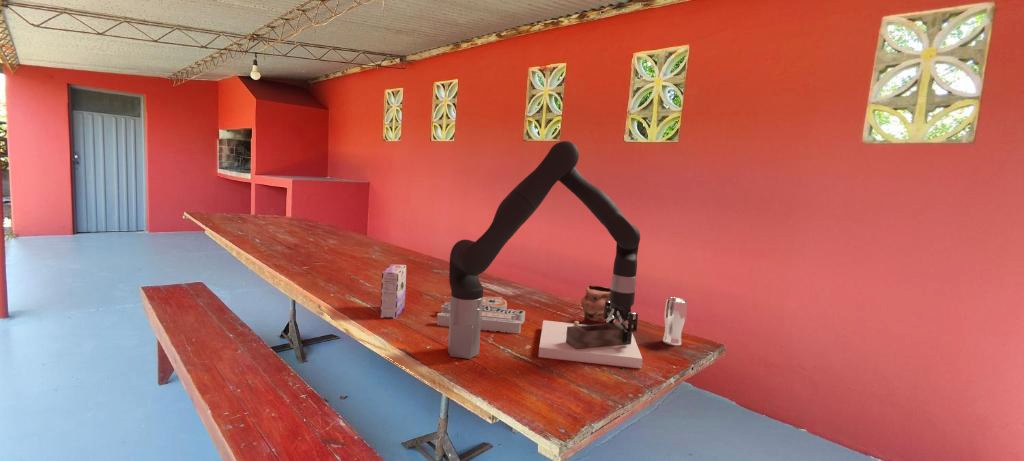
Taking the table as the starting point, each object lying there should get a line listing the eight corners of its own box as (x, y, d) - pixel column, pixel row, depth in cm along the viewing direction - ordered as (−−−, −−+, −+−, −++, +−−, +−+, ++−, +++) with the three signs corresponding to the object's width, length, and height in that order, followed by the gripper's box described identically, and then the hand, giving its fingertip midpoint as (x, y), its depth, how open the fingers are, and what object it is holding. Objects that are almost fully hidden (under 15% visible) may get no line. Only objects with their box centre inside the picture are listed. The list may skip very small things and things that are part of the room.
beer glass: (657, 340, 168) (662, 298, 166) (668, 337, 172) (673, 295, 170) (675, 347, 163) (680, 303, 161) (686, 343, 167) (692, 301, 165)
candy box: (389, 306, 184) (391, 263, 182) (405, 307, 184) (407, 264, 182) (379, 318, 170) (381, 271, 168) (396, 319, 170) (398, 272, 168)
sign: (433, 314, 167) (452, 292, 197) (432, 326, 168) (452, 302, 197) (522, 323, 164) (528, 299, 194) (521, 335, 165) (527, 309, 194)
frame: (619, 337, 160) (621, 322, 159) (630, 344, 154) (632, 328, 154) (565, 342, 152) (567, 326, 151) (575, 349, 146) (577, 333, 145)
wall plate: (641, 368, 143) (643, 347, 142) (538, 356, 146) (540, 335, 145) (630, 337, 169) (632, 319, 168) (542, 328, 172) (544, 310, 171)
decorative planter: (593, 315, 192) (596, 280, 190) (623, 322, 186) (627, 286, 184) (571, 327, 175) (575, 289, 173) (604, 335, 169) (608, 296, 167)
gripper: (647, 294, 149) (641, 345, 151) (619, 282, 161) (614, 330, 164) (627, 295, 146) (621, 348, 148) (599, 283, 158) (595, 331, 161)
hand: (617, 338), depth 156 cm, fingers open, 8 cm apart
